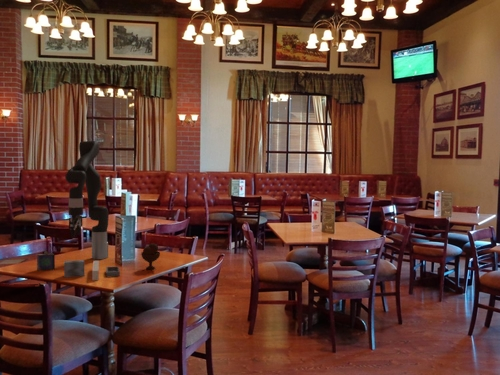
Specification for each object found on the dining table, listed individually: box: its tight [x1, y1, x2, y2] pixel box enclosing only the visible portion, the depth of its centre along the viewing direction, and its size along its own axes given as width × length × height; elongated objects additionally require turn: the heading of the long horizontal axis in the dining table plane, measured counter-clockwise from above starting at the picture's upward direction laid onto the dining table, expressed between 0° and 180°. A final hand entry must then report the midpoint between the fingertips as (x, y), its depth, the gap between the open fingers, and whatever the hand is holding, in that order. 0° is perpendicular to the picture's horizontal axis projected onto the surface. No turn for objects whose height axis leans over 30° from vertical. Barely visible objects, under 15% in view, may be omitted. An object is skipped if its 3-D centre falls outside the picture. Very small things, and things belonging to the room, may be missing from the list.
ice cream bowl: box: [140, 243, 161, 271], centre depth 263 cm, size 11×11×15 cm
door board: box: [91, 260, 100, 281], centre depth 248 cm, size 24×3×5 cm, turn 18°
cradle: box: [105, 266, 121, 278], centre depth 251 cm, size 13×7×2 cm, turn 18°
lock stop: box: [63, 259, 85, 278], centre depth 244 cm, size 10×4×8 cm, turn 108°
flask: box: [36, 250, 56, 271], centre depth 256 cm, size 9×3×11 cm, turn 109°
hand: (75, 235), depth 251 cm, fingers open, 8 cm apart
